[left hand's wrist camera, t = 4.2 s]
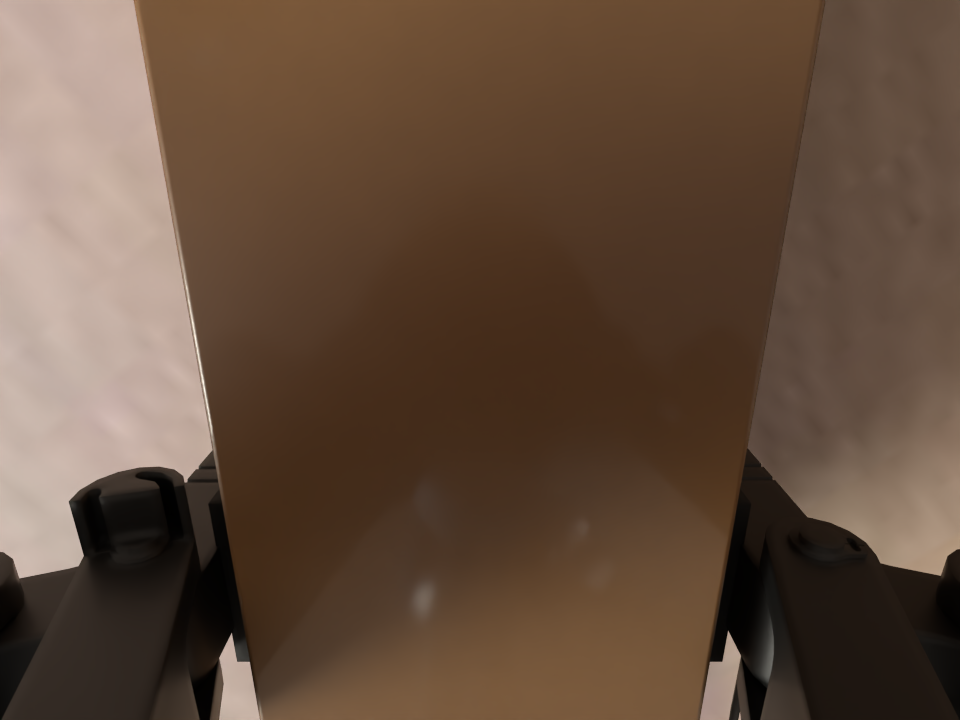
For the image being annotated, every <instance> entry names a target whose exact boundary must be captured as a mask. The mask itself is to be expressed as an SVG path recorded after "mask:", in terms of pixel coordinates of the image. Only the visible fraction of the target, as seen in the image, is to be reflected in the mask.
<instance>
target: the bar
mask: <svg viewBox="0 0 960 720" xmlns="http://www.w3.org/2000/svg"><path fill="white" fill-rule="evenodd" d="M134 4H135V10H136V16H137V21H138V27H139V33H140V39H141V44H142V50H143V56H144V61H145V67H146V73H147V78H148V84H149V90H150V96H151V101H152V107H153V113H154V118H155V124H156V130H157V135H158V141H159V147H160V152H161V158H162V164H163V170H164V175H165V181H166V187H167V192H168V198H169V204H170V209H171V215H172V221H173V226H174V232H175V238H176V244H177V249H178V255H179V261H180V266H181V272H182V278H183V283H184V289H185V295H186V300H187V306H188V312H189V318H190V323H191V329H192V335H193V340H194V346H195V352H196V357H197V363H198V369H199V375H200V380H201V386H202V392H203V397H204V403H205V409H206V414H207V420H208V426H209V431H210V437H211V443H212V449H213V454H214V460H215V466H216V471H217V477H218V483H219V488H220V494H221V500H222V505H223V511H224V517H225V523H226V528H227V534H228V540H229V545H230V551H231V557H232V562H233V568H234V574H235V579H236V585H237V591H238V597H239V602H240V608H241V614H242V619H243V625H244V631H245V636H246V642H247V648H248V654H249V659H250V665H251V671H252V676H253V682H254V688H255V693H256V699H257V705H258V710H259V716H260V720H700V715H701V709H702V703H703V698H704V692H705V686H706V680H707V675H708V669H709V663H710V658H711V652H712V646H713V640H714V635H715V629H716V623H717V618H718V612H719V606H720V600H721V595H722V589H723V583H724V578H725V572H726V566H727V560H728V555H729V549H730V543H731V537H732V532H733V526H734V520H735V515H736V509H737V503H738V497H739V492H740V486H741V480H742V475H743V469H744V463H745V457H746V452H747V446H748V440H749V435H750V429H751V423H752V417H753V412H754V406H755V400H756V395H757V389H758V383H759V377H760V372H761V366H762V360H763V355H764V349H765V343H766V337H767V332H768V326H769V320H770V314H771V309H772V303H773V297H774V292H775V286H776V280H777V274H778V269H779V263H780V257H781V252H782V246H783V240H784V234H785V229H786V223H787V217H788V212H789V206H790V200H791V194H792V189H793V183H794V177H795V172H796V166H797V160H798V154H799V149H800V143H801V137H802V132H803V126H804V120H805V114H806V109H807V103H808V97H809V92H810V86H811V80H812V74H813V69H814V63H815V57H816V51H817V46H818V40H819V34H820V29H821V23H822V17H823V11H824V6H825V0H134Z"/></svg>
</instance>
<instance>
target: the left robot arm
mask: <svg viewBox="0 0 960 720" xmlns="http://www.w3.org/2000/svg"><path fill="white" fill-rule="evenodd" d="M69 504H70V507H71V511H72V515H73V518H74V522H75V525H76V529H77V532H78V536H79V540H80V543H81V547H82V550H83V554H84V557H83V559H82V561H81V563H80V565H79V566H78V567H74V568H70V569H65V570H60V571H55V572H50V573H45V574H40V575H35V576H30V577H25V578H20V579H19V576H18V573H17V570H16V567H15V564H14V561H13V559H12V558H11V557H9V556H8V555H6V554H5V553H4V552H0V720H219V715H220V707H221V700H222V692H223V684H224V683H223V676H222V670H221V665H220V660H219V657H220V655H221V653H222V651H223V649H224V647H225V645H226V643H227V641H228V639H229V637H230V635H231V633H232V636H233V641H234V646H235V652H236V657H237V662H250V659H249V654H248V648H247V642H246V636H245V631H244V625H243V619H242V614H241V608H240V602H239V597H238V591H237V585H236V579H235V574H234V568H233V562H232V557H231V551H230V545H229V540H228V534H227V528H226V523H225V517H224V511H223V505H222V500H221V494H220V488H219V483H218V477H217V471H216V466H215V460H214V454H213V451H212V452H211V453H210V454H209V455H208V456H207V457H206V459H205V460H204V461H203V462H202V463H201V464H200V466H199V469H196V470H195V471H194V473H193V474H192V475H191V476H190V477H189V478H188V482H187V483H184V478H183V476H182V475H181V474H180V473H178V472H177V471H175V470H174V469H168V468H163V467H143V468H136V469H131V470H126V471H121V472H117V473H115V474H112V475H109V476H107V477H104V478H101V479H99V480H96V481H95V482H93V483H91V484H90V485H88V486H86V487H84V488H83V489H81V490H80V491H79V492H78V493H77V494H76V495H75V496H74V497H73V498H72V499H71V500H70V501H69ZM728 631H729V633H730V635H731V637H732V639H733V641H734V643H735V645H736V647H737V649H738V651H739V652H740V654H741V660H740V665H739V670H738V675H737V680H736V685H735V690H734V695H733V700H732V705H731V710H730V717H729V720H738V718H739V713H740V714H741V720H960V549H958V550H956V551H954V552H953V553H951V554H950V555H949V556H948V557H947V560H946V563H945V566H944V569H943V572H942V575H941V576H939V575H933V574H928V573H923V572H918V571H913V570H908V569H903V568H898V567H893V566H889V565H885V564H881V563H880V562H879V560H878V558H877V556H876V554H875V553H874V552H873V551H872V549H871V548H870V547H869V546H868V545H867V543H866V542H864V541H863V540H861V539H860V538H858V537H857V536H856V535H854V534H853V533H851V532H850V531H848V530H845V529H843V528H841V527H838V526H836V525H834V524H832V523H829V522H825V521H821V520H817V519H813V518H807V516H806V515H805V514H804V513H803V512H802V511H801V510H800V508H799V507H798V506H797V505H796V504H795V503H794V501H793V500H792V499H791V498H790V497H789V496H788V495H787V493H786V492H785V491H784V490H783V489H782V488H781V487H780V485H779V484H778V483H777V482H776V481H775V480H772V476H771V475H770V474H769V473H768V472H767V470H766V469H765V468H764V467H761V463H760V462H759V461H758V460H757V459H756V458H755V457H754V455H753V454H752V453H751V452H750V451H749V450H748V449H747V452H746V457H745V463H744V469H743V475H742V480H741V486H740V492H739V497H738V503H737V509H736V515H735V520H734V526H733V532H732V537H731V543H730V549H729V555H728V560H727V566H726V572H725V578H724V583H723V589H722V595H721V600H720V606H719V612H718V618H717V623H716V629H715V635H714V640H713V646H712V652H711V658H710V662H722V660H723V655H724V650H725V644H726V639H727V633H728Z"/></svg>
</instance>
